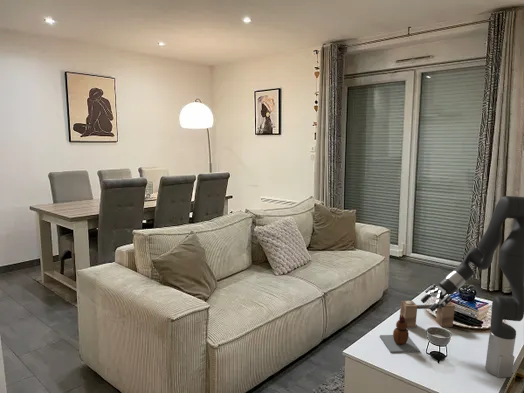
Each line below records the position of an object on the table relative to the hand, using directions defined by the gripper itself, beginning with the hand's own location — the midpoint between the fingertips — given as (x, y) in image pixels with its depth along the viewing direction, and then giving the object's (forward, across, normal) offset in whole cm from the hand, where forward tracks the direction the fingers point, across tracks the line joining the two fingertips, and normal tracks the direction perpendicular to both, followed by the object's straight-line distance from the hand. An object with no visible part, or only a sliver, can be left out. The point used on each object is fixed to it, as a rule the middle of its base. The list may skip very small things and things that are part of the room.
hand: (426, 305), depth 183 cm
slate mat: (+22, 0, +6) cm, 23 cm away
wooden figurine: (+21, 0, +6) cm, 22 cm away
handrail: (+6, -18, +21) cm, 29 cm away
